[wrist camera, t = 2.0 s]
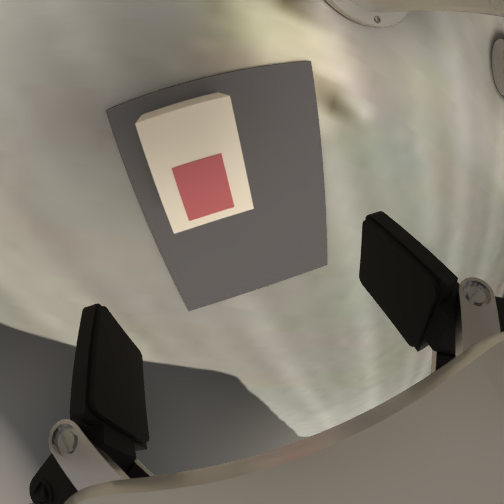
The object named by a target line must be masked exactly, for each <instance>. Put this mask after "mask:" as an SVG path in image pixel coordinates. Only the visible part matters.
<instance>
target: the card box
mask: <svg viewBox="0 0 504 504" xmlns="http://www.w3.org/2000/svg"><path fill="white" fill-rule="evenodd" d="M135 125H136V128H137V131H138V135H139V138H140V141H141V144H142V147H143V150H144V153H145V156H146V159H147V162H148V165H149V168H150V170H151V173H152V176H153V179H154V182H155V185H156V187H157V190H158V193H159V196H160V198H161V201H162V204H163V206H164V209H165V212H166V214H167V217H168V220H169V222H170V225H171V227H172V230H173V232H174V234H175V233H178V232H181V231H185V230H188V229H191V228H194V227H197V226H200V225H203V224H206V223H209V222H212V221H216V220H219V219H222V218H225V217H228V216H232V215H235V214H238V213H242V212H245V211H248V210H251V209H254V207H253V202H252V198H251V193H250V188H249V183H248V178H247V173H246V169H245V164H244V159H243V154H242V150H241V145H240V140H239V135H238V131H237V126H236V121H235V117H234V112H233V107H232V103H231V98H230V96H229V95H226V94H223V93H219V92H216V93H212V94H208V95H204V96H200V97H197V98H193V99H189V100H186V101H182V102H179V103H176V104H172V105H169V106H166V107H163V108H160V109H157V110H154V111H151V112H148V113H145V114H142V115H141V116H140V118H139V119H138V120H137V122H136V123H135Z"/></svg>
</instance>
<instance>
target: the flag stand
mask: <svg viewBox="0 0 504 504" xmlns="http://www.w3.org/2000/svg"><path fill="white" fill-rule="evenodd" d="M492 71H493V76H494V80H495V84H496V86H497V89H498V91H499V92H500V93H501V94H502V95H503V96H504V40H503V39H498V40H496V42H495V43H494V46H493V50H492Z"/></svg>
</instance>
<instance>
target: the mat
mask: <svg viewBox="0 0 504 504" xmlns="http://www.w3.org/2000/svg"><path fill="white" fill-rule="evenodd" d="M216 92H219V93H223V94H226V95H229V96H230V98H231V103H232V107H233V112H234V117H235V121H236V126H237V131H238V135H239V140H240V145H241V150H242V154H243V159H244V164H245V169H246V173H247V178H248V183H249V188H250V193H251V198H252V202H253V207H254V209H251V210H248V211H245V212H242V213H238V214H235V215H232V216H228V217H225V218H222V219H219V220H216V221H212V222H209V223H206V224H203V225H200V226H197V227H194V228H191V229H188V230H185V231H181V232H178V233H175V234H174V232H173V230H172V227H171V225H170V222H169V220H168V217H167V214H166V212H165V209H164V206H163V204H162V201H161V198H160V196H159V193H158V190H157V187H156V185H155V182H154V179H153V176H152V173H151V170H150V168H149V165H148V162H147V159H146V156H145V153H144V150H143V147H142V144H141V141H140V138H139V135H138V131H137V128H136V125H135V123H136V122H137V120H138V119H139V118H140V116H141V115H142V114H145V113H148V112H151V111H154V110H157V109H160V108H163V107H166V106H169V105H172V104H176V103H179V102H182V101H186V100H189V99H193V98H197V97H200V96H204V95H208V94H212V93H216ZM106 112H107V116H108V119H109V122H110V125H111V128H112V131H113V134H114V137H115V140H116V143H117V146H118V148H119V151H120V154H121V157H122V160H123V162H124V165H125V168H126V170H127V173H128V176H129V178H130V181H131V184H132V186H133V189H134V191H135V194H136V196H137V199H138V201H139V204H140V206H141V209H142V211H143V213H144V216H145V218H146V221H147V223H148V225H149V228H150V230H151V232H152V235H153V237H154V239H155V241H156V244H157V246H158V248H159V250H160V253H161V255H162V257H163V259H164V261H165V263H166V266H167V268H168V270H169V272H170V274H171V276H172V278H173V280H174V283H175V285H176V287H177V289H178V291H179V293H180V295H181V297H182V299H183V301H184V303H185V305H186V307H187V309H188V311H191V310H194V309H197V308H201V307H204V306H207V305H210V304H213V303H216V302H219V301H223V300H226V299H229V298H232V297H235V296H238V295H241V294H244V293H247V292H250V291H253V290H256V289H259V288H262V287H265V286H268V285H271V284H274V283H277V282H280V281H283V280H286V279H288V278H291V277H294V276H297V275H300V274H303V273H306V272H308V271H311V270H314V269H317V268H320V267H322V266H325V265H327V229H326V205H325V188H324V173H323V160H322V148H321V138H320V128H319V119H318V110H317V102H316V94H315V86H314V79H313V72H312V66H311V61H302V62H292V63H283V64H275V65H268V66H261V67H255V68H249V69H243V70H238V71H233V72H228V73H223V74H219V75H214V76H210V77H206V78H202V79H198V80H194V81H190V82H187V83H183V84H179V85H176V86H173V87H169V88H166V89H163V90H160V91H157V92H153V93H150V94H148V95H145V96H142V97H139V98H136V99H133V100H131V101H128V102H125V103H123V104H120V105H118V106H115V107H113V108H110V109H108V110H106Z"/></svg>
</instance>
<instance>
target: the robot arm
mask: <svg viewBox="0 0 504 504" xmlns="http://www.w3.org/2000/svg"><path fill="white" fill-rule="evenodd" d="M326 1H327V2H328V3H329V4H330V5H331V6H332V7H333V8H334V9H335V10H336V11H338V12H339V13H341V14H342V15H344V16H345V17H346V18H348V19H350V20H352V21H354V22H356V23H359V24H362V25H365V26H371V27H387V26H392V25H395V24H397V23H399V22H400V21H401V20H403V19H404V18H405V16H406V15H407V14H408V12H409V11H454V12H469V13H479V14H488V15H495V16H501V17H504V0H326ZM359 278H360V281H361V283H362V285H363V286H364V287H365V288H366V290H367V291H368V292H369V293H370V295H371V296H372V297H373V299H374V300H375V301H376V302H377V304H378V305H379V306H380V307H381V309H382V310H383V311H384V313H385V314H386V315H387V316H388V318H389V319H390V320H391V322H392V323H393V324H394V326H395V327H396V328H397V330H398V331H399V332H400V334H401V335H402V336H403V338H404V339H405V340H406V342H407V343H408V344H409V345H410V346H412V347H413V346H414V347H415V349H416V350H417V351H420V350H422V349H423V348H425V347H426V346H428V345H430V347H431V348H432V349H433V350H432V365H431V374H430V375H429V376H427V377H426V378H424V379H423V380H421V381H419V382H418V383H416V384H415V385H413V386H411V387H410V388H408V389H407V390H405V391H403V392H401V393H400V394H398V395H396V396H395V397H393V398H391V399H389V400H387V401H386V402H384V403H382V404H380V405H378V406H376V407H374V408H373V409H371V410H369V411H367V412H365V413H363V414H361V415H359V416H357V417H355V418H352V419H350V420H348V421H346V422H344V423H342V424H339V425H337V426H335V427H333V428H330V429H328V430H326V431H323V432H321V433H318V434H316V435H314V436H311V437H308V438H306V439H304V440H301V441H298V442H295V443H293V444H290V445H287V446H284V447H281V448H278V449H275V450H272V451H268V452H265V453H262V454H259V455H255V456H252V457H248V458H245V459H241V460H237V461H234V462H229V463H225V464H221V465H216V466H212V467H207V468H202V469H197V470H191V471H185V472H179V473H173V474H166V475H159V476H154V475H153V474H152V473H151V472H150V471H149V470H147V469H146V467H144V466H143V465H142V464H141V463H140V462H139V461H138V460H137V459H136V453H135V451H138V450H146V449H147V446H146V442H148V441H149V432H148V425H147V424H148V423H147V414H146V404H145V392H144V378H143V359H142V355H141V352H140V350H139V349H138V348H137V347H136V345H135V344H134V343H133V342H132V340H131V339H130V338H129V337H128V335H127V334H126V333H125V331H124V330H123V329H122V328H121V326H120V325H119V324H118V322H117V321H116V320H115V318H114V317H113V316H112V314H111V313H110V312H109V310H108V309H107V308H106V307H105V306H101V305H100V304H94V305H91V306H88V307H85V308H84V309H83V311H82V317H81V322H80V327H79V333H78V339H77V346H76V353H75V360H74V368H73V369H74V370H73V378H72V388H71V401H70V420H68V419H65V420H61V421H59V422H57V423H56V424H55V425H54V426H53V428H52V430H51V432H50V435H49V446H50V449H51V452H52V453H51V455H50V456H49V458H48V459H47V460H46V461H45V463H44V464H43V465H42V467H41V468H40V469H39V471H38V472H37V473H36V475H35V476H34V477H33V479H32V481H31V483H30V496H31V499H32V501H33V503H30V504H504V298H500V297H496V296H495V295H494V292H493V290H492V289H491V287H490V286H489V285H488V284H487V283H486V282H485V281H483V280H481V279H478V278H466V279H464V280H463V281H462V282H461V284H459V283H458V282H457V280H458V278H457V277H456V276H455V275H454V274H453V273H452V272H451V271H450V270H449V269H448V268H447V267H446V266H445V265H444V264H443V263H442V262H441V261H440V260H439V259H437V258H436V257H435V256H434V255H433V254H432V253H431V252H430V251H429V250H428V249H426V248H425V247H424V246H423V245H422V244H421V243H420V242H419V241H417V240H416V239H415V238H414V237H413V236H412V235H410V234H409V233H408V232H407V231H406V230H405V229H403V228H402V227H401V226H400V225H399V224H397V223H396V222H395V221H394V220H393V219H391V218H390V217H389V216H388V215H386V214H385V213H384V212H382V211H379V212H376V213H373V214H370V215H367V216H366V219H365V221H363V226H362V245H361V260H360V272H359Z"/></svg>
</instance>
